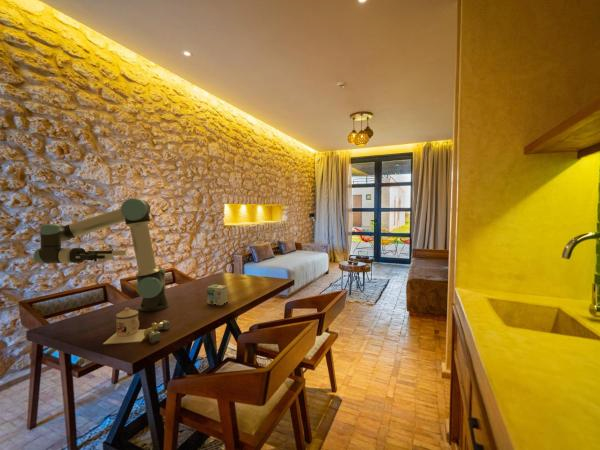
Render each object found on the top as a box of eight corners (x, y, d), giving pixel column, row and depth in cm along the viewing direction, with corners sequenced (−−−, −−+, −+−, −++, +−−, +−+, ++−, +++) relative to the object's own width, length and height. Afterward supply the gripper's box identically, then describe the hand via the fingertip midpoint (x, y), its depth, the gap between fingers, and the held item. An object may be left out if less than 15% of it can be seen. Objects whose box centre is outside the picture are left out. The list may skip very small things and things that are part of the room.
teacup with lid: (111, 335, 127) (110, 309, 127) (130, 327, 136) (129, 303, 135) (129, 339, 123) (128, 313, 122) (147, 331, 131) (147, 307, 131)
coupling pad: (118, 331, 132) (118, 330, 132) (152, 329, 134) (151, 328, 134) (103, 344, 119) (103, 343, 119) (141, 341, 121) (140, 340, 121)
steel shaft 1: (161, 340, 123) (161, 329, 123) (151, 343, 120) (151, 333, 119) (153, 336, 127) (153, 326, 127) (143, 339, 123) (143, 329, 123)
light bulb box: (206, 303, 174) (206, 286, 173) (213, 300, 180) (213, 284, 180) (221, 305, 170) (221, 288, 170) (227, 302, 177) (227, 285, 176)
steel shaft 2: (165, 326, 138) (164, 317, 138) (169, 329, 135) (169, 319, 135) (151, 331, 132) (151, 321, 132) (155, 333, 130) (155, 324, 130)
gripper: (88, 259, 152) (130, 258, 155) (55, 267, 127) (106, 266, 130) (87, 245, 151) (130, 244, 155) (55, 251, 127) (106, 250, 130)
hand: (119, 254), depth 142 cm, fingers open, 13 cm apart
